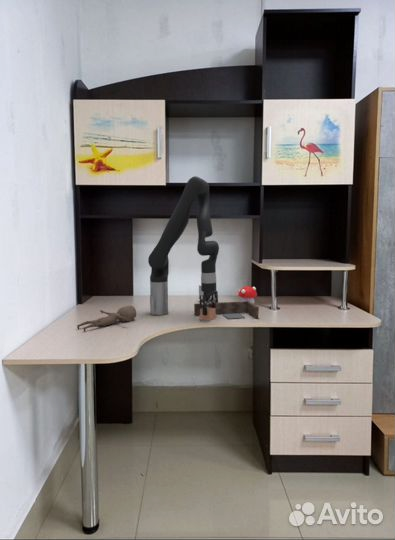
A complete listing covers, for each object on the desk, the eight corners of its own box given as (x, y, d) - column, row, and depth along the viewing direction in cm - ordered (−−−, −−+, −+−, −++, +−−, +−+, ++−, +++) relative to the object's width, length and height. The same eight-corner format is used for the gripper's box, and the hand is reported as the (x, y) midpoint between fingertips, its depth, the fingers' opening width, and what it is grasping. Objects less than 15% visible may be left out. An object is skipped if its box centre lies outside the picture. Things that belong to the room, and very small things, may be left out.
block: (209, 321, 206) (209, 310, 205) (200, 319, 209) (200, 309, 208) (215, 319, 210) (215, 308, 210) (206, 317, 213) (206, 307, 213)
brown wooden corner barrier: (200, 322, 204) (200, 310, 203) (194, 315, 219) (194, 303, 218) (258, 318, 210) (258, 306, 209) (248, 312, 225) (248, 301, 224)
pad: (227, 319, 209) (227, 318, 209) (222, 315, 218) (222, 314, 218) (244, 318, 211) (244, 317, 211) (239, 314, 220) (239, 313, 220)
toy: (97, 343, 182) (151, 323, 202) (94, 326, 180) (149, 307, 201) (68, 332, 200) (120, 314, 221) (65, 316, 199) (118, 300, 219)
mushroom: (235, 308, 233) (236, 287, 232) (239, 304, 244) (240, 284, 242) (255, 309, 230) (255, 288, 228) (258, 305, 240) (258, 284, 239)
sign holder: (197, 301, 253) (197, 285, 252) (200, 301, 254) (200, 285, 252) (215, 308, 235) (215, 290, 234) (218, 308, 236) (218, 290, 235)
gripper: (208, 284, 200) (208, 317, 202) (222, 279, 212) (222, 311, 214) (194, 283, 204) (195, 315, 206) (209, 279, 216) (209, 310, 218)
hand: (209, 313), depth 210 cm, fingers open, 8 cm apart
